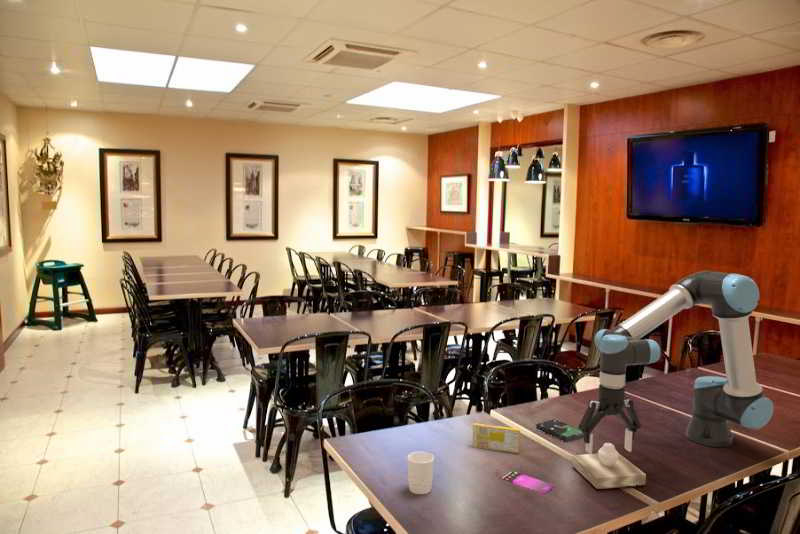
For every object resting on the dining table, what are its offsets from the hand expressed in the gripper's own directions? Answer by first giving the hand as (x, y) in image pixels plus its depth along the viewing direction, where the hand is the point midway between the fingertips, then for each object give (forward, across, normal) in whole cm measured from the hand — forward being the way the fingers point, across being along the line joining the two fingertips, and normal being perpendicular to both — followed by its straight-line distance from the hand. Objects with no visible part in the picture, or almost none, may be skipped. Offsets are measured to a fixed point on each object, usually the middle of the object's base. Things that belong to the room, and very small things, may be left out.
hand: (608, 451), depth 180 cm
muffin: (+4, 0, 0) cm, 4 cm away
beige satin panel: (+8, 0, 0) cm, 8 cm away
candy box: (+9, +28, -25) cm, 39 cm away
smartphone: (+9, +26, 0) cm, 28 cm away
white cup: (+8, +60, -1) cm, 61 cm away
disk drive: (+9, -1, -35) cm, 36 cm away
